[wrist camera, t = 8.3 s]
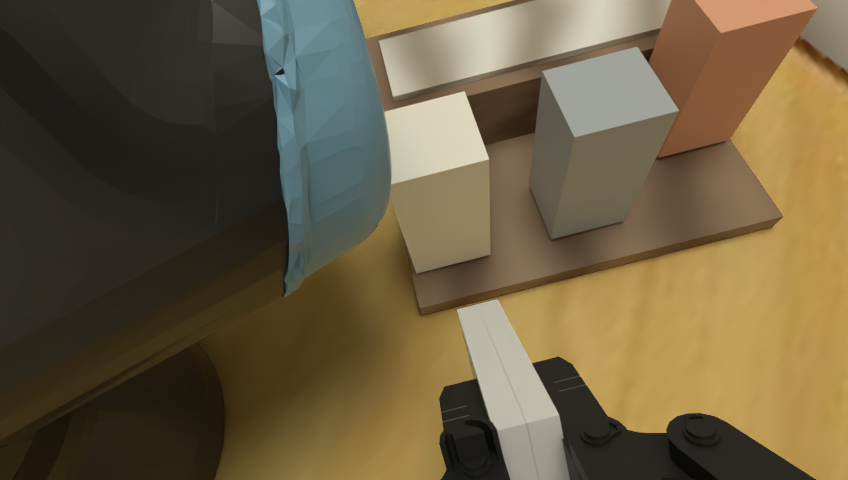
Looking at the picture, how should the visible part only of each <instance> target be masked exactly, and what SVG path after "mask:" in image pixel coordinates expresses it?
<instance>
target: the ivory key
mask: <svg viewBox="0 0 848 480" xmlns="http://www.w3.org/2000/svg"><path fill="white" fill-rule="evenodd" d="M384 113H385V118H386V124H387V130H388V136H389V144H390V153H391V165H392V179H391V191H390V196H389V197H390V200H391V203H392V205H393V208H394V211H395V214H396V217H397V220H398V222H399V225H400V228H401V231H402V234H403V237H404V239H405V242H406V245H407V248H408V251H409V254H410V256H411V259H412V262H413V265H414V268H415V271H416V273H421V272H425V271H428V270H432V269H436V268H440V267H444V266H448V265H452V264H456V263H460V262H464V261H468V260H472V259H476V258H480V257H484V256H488V255H490V180H489V157H488V154H487V152H486V149H485V146H484V143H483V141H482V138H481V135H480V132H479V129H478V127H477V124H476V121H475V118H474V116H473V113H472V110H471V107H470V104H469V102H468V99H467V96H466V93H465V91H463V92H459V93H455V94H452V95H448V96H444V97H440V98H436V99H432V100H428V101H424V102H421V103H417V104H413V105H409V106H405V107H401V108H397V109H393V110H389V111H386V112H384Z"/></svg>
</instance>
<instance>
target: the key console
mask: <svg viewBox="0 0 848 480" xmlns="http://www.w3.org/2000/svg"><path fill="white" fill-rule="evenodd" d="M670 2H671V0H514V1H510V2H506V3H502V4H499V5H495V6H491V7H487V8H483V9H479V10H475V11H472V12H468V13H464V14H460V15H456V16H452V17H448V18H445V19H441V20H437V21H433V22H429V23H425V24H422V25H418V26H414V27H410V28H406V29H402V30H398V31H395V32H391V33H387V34H383V35H379V36H375V37H371V38H368V39H366V43H367V46H368V50H369V53H370V57H371V60H372V64H373V67H374V71H375V75H376V79H377V83H378V87H379V91H380V94H381V99H382V104H383V109H384V112H386V111H389V110H393V109H397V108H401V107H405V106H409V105H413V104H417V103H421V102H424V101H428V100H432V99H436V98H440V97H444V96H448V95H452V94H455V93H459V92H463V91H465V93H466V96H467V99H468V102H469V104H470V107H471V110H472V113H473V116H474V118H475V121H476V124H477V127H478V129H479V132H480V135H481V138H482V141H483V143H484V146H485V149H486V152H487V154H488V157H489V180H490V255H488V256H484V257H480V258H476V259H472V260H468V261H464V262H460V263H456V264H452V265H448V266H444V267H440V268H436V269H432V270H428V271H425V272H421V273H416V271H415V268H414V265H413V262H412V259H411V256H410V254H409V251H408V248H407V245H406V242H405V239H404V242H405V246H406V251H407V255H408V260H409V264H410V269H411V273H412V278H413V282H414V287H415V291H416V296H417V300H418V305H419V309H420V311H421V314H422V315H425V314H429V313H433V312H437V311H441V310H445V309H449V308H453V307H457V306H461V305H465V304H469V303H473V302H477V301H481V300H485V299H489V298H493V297H497V296H500V295H504V294H508V293H512V292H516V291H520V290H524V289H528V288H532V287H536V286H540V285H544V284H548V283H552V282H556V281H560V280H564V279H568V278H572V277H576V276H580V275H584V274H588V273H592V272H596V271H600V270H604V269H608V268H611V267H615V266H619V265H623V264H627V263H631V262H635V261H639V260H643V259H647V258H651V257H655V256H659V255H663V254H667V253H671V252H675V251H679V250H683V249H687V248H691V247H695V246H699V245H703V244H707V243H711V242H715V241H719V240H722V239H726V238H730V237H734V236H738V235H742V234H746V233H750V232H754V231H758V230H762V229H766V228H770V227H773V226H774V225H775V224H776V223H777V222H778V221H779V220H780V219H781V218H782V217H783V215H782V214H781V212H780V211H779V209H778V208H777V206H776V205H775V203H774V202H773V201H772V199H771V198H770V196H769V195H768V193H767V192H766V191H765V189H764V188H763V186H762V185H761V183H760V182H759V180H758V179H757V178H756V176H755V175H754V173H753V172H752V170H751V169H750V168H749V166H748V165H747V163H746V162H745V160H744V159H743V157H742V156H741V155H740V153H739V152H738V150H737V149H736V147H735V146H734V145H733V143H732V142H731V140H730V139H729V140H727V141H723V142H719V143H715V144H711V145H707V146H703V147H699V148H696V149H692V150H688V151H684V152H680V153H676V154H672V155H668V156H664V157H660V158H658V156H657V157H656V159H655V161H654V163H653V165H652V167H651V169H650V171H649V173H648V175H647V177H646V179H645V181H644V184H643V186H642V188H641V190H640V192H639V194H638V196H637V198H636V200H635V202H634V204H633V206H632V208H631V210H630V212H629V214H628V216H627V218H626V220H625V221H622V222H618V223H614V224H610V225H606V226H602V227H598V228H594V229H590V230H586V231H582V232H578V233H575V234H571V235H567V236H563V237H559V238H555V239H551V238H550V236H549V233H548V231H547V228H546V226H545V223H544V221H543V218H542V216H541V213H540V211H539V208H538V206H537V203H536V201H535V198H534V196H533V193H532V191H531V188H530V186H529V180H530V171H531V163H532V154H533V146H534V137H535V129H536V120H537V112H538V103H539V94H540V86H541V77H542V71H545V70H549V69H553V68H556V67H560V66H564V65H568V64H572V63H576V62H580V61H584V60H587V59H591V58H595V57H599V56H603V55H607V54H611V53H615V52H619V51H622V50H626V49H630V48H634V47H638V48H639V50H640V51H641V53H642V54H643V56H644V58H645V59H646V61H647V62H648V63H649V60H650V57H651V55H652V52H653V49H654V46H655V44H656V41H657V38H658V35H659V33H660V30H661V27H662V24H663V22H664V19H665V16H666V13H667V11H668V8H669V5H670ZM403 238H404V237H403Z"/></svg>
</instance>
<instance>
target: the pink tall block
mask: <svg viewBox="0 0 848 480" xmlns="http://www.w3.org/2000/svg"><path fill="white" fill-rule="evenodd" d="M816 10H817V7H816V6H815V5H814V4H813V3H812V2H811V1H810V0H671V2H670V5H669V8H668V11H667V13H666V16H665V19H664V22H663V24H662V27H661V30H660V33H659V35H658V38H657V41H656V44H655V46H654V49H653V52H652V55H651V57H650V60H649V63H648V64H649V65H650V67H651V68H652V70H653V71H654V73H655V74H656V76H657V77H658V79H659V81H660V82H661V84H662V85H663V87H664V88H665V90H666V91H667V93H668V94H669V96H670V97H671V99H672V100H673V102H674V104H675V105H676V107H677V108H678V110H679V112H678V114H677V116H676V118H675V120H674V122H673V124H672V126H671V128H670V130H669V133H668V135H667V137H666V139H665V141H664V143H663V145H662V147H661V149H660V151H659V153H658V155H657V156H658V158H660V157H664V156H668V155H672V154H676V153H680V152H684V151H688V150H692V149H696V148H699V147H703V146H707V145H711V144H715V143H719V142H723V141H727V140H729V139H730V138H731V136H732V135H733V133H734V132H735V130H736V129H737V127H738V126H739V124H740V123H741V121H742V120H743V118H744V117H745V116H746V114H747V113H748V111H749V110H750V108H751V107H752V105H753V104H754V102H755V101H756V99H757V98H758V96H759V95H760V93H761V92H762V90H763V89H764V87H765V86H766V84H767V83H768V81H769V80H770V78H771V77H772V75H773V74H774V72H775V71H776V69H777V68H778V66H779V65H780V64H781V62H782V61H783V59H784V58H785V56H786V55H787V53H788V52H789V50H790V49H791V47H792V46H793V44H794V43H795V41H796V40H797V38H798V37H799V35H800V34H801V32H802V30H803V29H804V28H805V26H806V25H807V23H808V22H809V20H810V19H811V17H812V16H813V14H814V13H815V11H816Z"/></svg>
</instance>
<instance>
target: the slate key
mask: <svg viewBox="0 0 848 480" xmlns="http://www.w3.org/2000/svg"><path fill="white" fill-rule="evenodd" d="M678 112H679V110H678V108H677V107H676V105H675V104H674V102H673V100H672V99H671V97H670V96H669V94H668V93H667V91H666V90H665V88H664V87H663V85H662V84H661V82H660V81H659V79H658V77H657V76H656V74H655V73H654V71H653V70H652V68H651V67H650V65H649V64H648V62H647V61H646V59H645V58H644V56H643V54H642V53H641V51H640V50H639V48H638V47H634V48H630V49H626V50H622V51H619V52H615V53H611V54H607V55H603V56H599V57H595V58H591V59H587V60H584V61H580V62H576V63H572V64H568V65H564V66H560V67H556V68H553V69H549V70H545V71H542V77H541V86H540V94H539V103H538V112H537V120H536V129H535V137H534V146H533V154H532V163H531V171H530V180H529V186H530V188H531V191H532V193H533V196H534V198H535V201H536V203H537V206H538V208H539V211H540V213H541V216H542V218H543V221H544V223H545V226H546V228H547V231H548V233H549V236H550V238H551V239H555V238H559V237H563V236H567V235H571V234H575V233H578V232H582V231H586V230H590V229H594V228H598V227H602V226H606V225H610V224H614V223H618V222H622V221H625V220H626V218H627V216H628V214H629V212H630V210H631V208H632V206H633V204H634V202H635V200H636V198H637V196H638V194H639V192H640V190H641V188H642V186H643V184H644V181H645V179H646V177H647V175H648V173H649V171H650V169H651V167H652V165H653V163H654V161H655V159H656V157H657V155H658V153H659V151H660V149H661V147H662V145H663V143H664V141H665V139H666V137H667V135H668V133H669V130H670V128H671V126H672V124H673V122H674V120H675V118H676V116H677V114H678Z"/></svg>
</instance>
